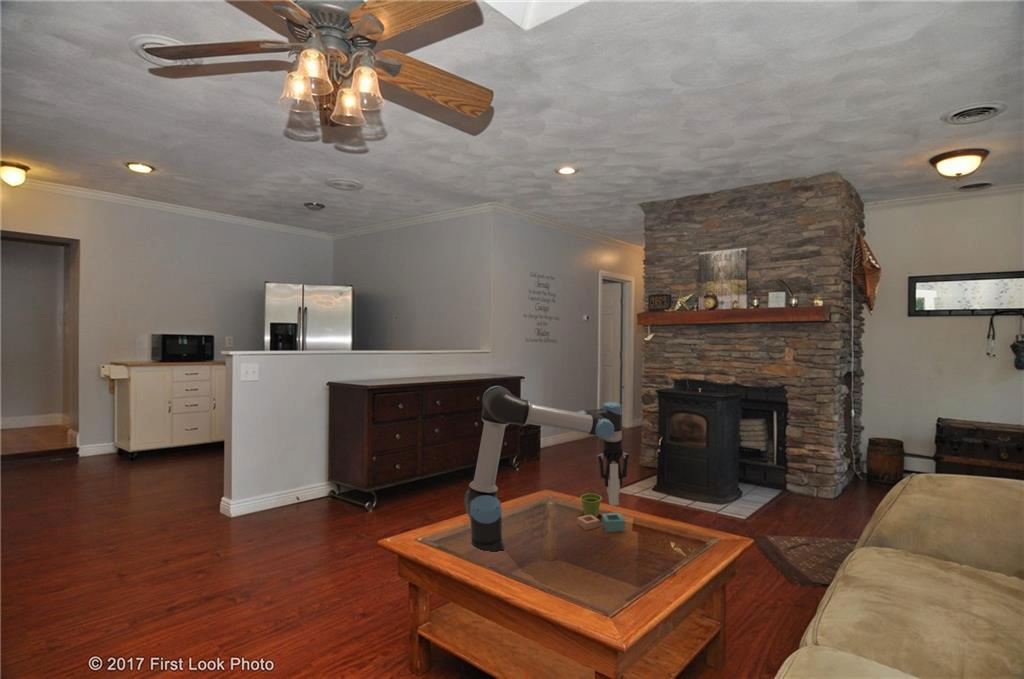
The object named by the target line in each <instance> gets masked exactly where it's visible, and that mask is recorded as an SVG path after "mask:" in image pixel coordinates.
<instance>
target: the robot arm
mask: <svg viewBox="0 0 1024 679" xmlns="http://www.w3.org/2000/svg"><path fill="white" fill-rule="evenodd" d="M482 395H483V396H482V399H481V402H482V412H481V415H480V416H481V418H480V419H481V420H482V422H483V426H482V427H483V428H482V434H481V438H480V445H479V450H478V456H477V461H476V468H475V471H474V477H473V480H472V481H471V482H469V485H468V490H467V491H466V493H465V495H464V500H463V501H464V502H463V504H464V508H465V510H466V512H467V515H468V518H469V521H470V533H471V534H470V535H471V537H470V538H471V541H470V545H471V544H472V545H473V546H474V547H476V548H478V549H480V550H483V551H490V552H498V551H504V550H505V549H506V547H505V544H504V542H503V529H502V526H503V524H502V521H503V520H502V511H503V510H502V504H501V501H500V500H499V499H498V497H497V494H498V489H499V488H498V486H497V485H496V480H497V474H498V468H499V463H500V457H501V451H502V448H503V440H504V435H505V431H506V427H508V425H510V424H512V425H520V426H526V425H527V424H529V425H535V426H540V427H546V428H550V429H557V430H563V431H568V432H575V433H579V434H585V435H590V436H596V437H598V438H599V439H601V440H603V451H602V453H600V454H599V453H598V454H597V455H596V458H597V459H598V466H599V468H598V469H599V477H600V478H601V479H603V480H604V486H605V487H606V493H607V495H608V496H609V495H610V479H609V471H610V464H611V462H612V461H615V462H616V463H617V464H618V495H621V487H622V485H623V479H624V478H626V477H627V473H628V472H627V471H628V459H629V458H630V455H629V454H628V453H627V452H624V451H623V441H622V438H623V436H622V434H623V432H622V431H623V430H622V423H623V422H622V415H623V413H622V411H623V410H622V405H621V404H620V403H619V402H614V401H610V402H604V403H603V404H602V408H596V409H583V410H577V411H571V410H567V409H560V408H555V407H551V406H550V407H549V406H545V405H539V404H536V403H530V401H529V400H528V399H523V398H520V397H517V396H516V395H515V394H512V392H510V390H509V389H507V388H506V387H503V386H501V385H495V386H491V387H489V388H488V389H487V390H485V391H484V393H483V394H482ZM604 457H605V459H606V464H605V467H604V461H603V459H604ZM621 457H622V468H621V463H620V462H621V461H620V459H621ZM604 468H605V469H604Z"/></svg>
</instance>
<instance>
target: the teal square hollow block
mask: <svg viewBox="0 0 1024 679" xmlns="http://www.w3.org/2000/svg"><path fill="white" fill-rule="evenodd" d="M625 522H626V521H625V518H624V517H623V515H622V514H621V513H620V512H609V513H607V512H606V513H601V525H602V527H603V529H604V532H605V533H614V532H615V533H616V532H625V531H626V530H625V529H626V523H625Z"/></svg>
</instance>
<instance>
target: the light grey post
mask: <svg viewBox="0 0 1024 679" xmlns="http://www.w3.org/2000/svg"><path fill="white" fill-rule="evenodd" d="M609 479H610V495H608V503H609V505H610V506H618V505H619V504H620V503H619V501H620V500H619V494H618V464H617V463H616V462H615V461H612V462H611V464H610V471H609Z"/></svg>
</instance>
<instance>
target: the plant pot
mask: <svg viewBox="0 0 1024 679" xmlns="http://www.w3.org/2000/svg"><path fill="white" fill-rule="evenodd" d="M579 498H580V500H581V503H582V509H583V510H582V511H583V514H584V515H583V516H585V515H590V514H592V515H593V516H594V517H596V518H598V517H599V511H600V505H601V501H602V499H603V498H602V496H601V495H599V494H596V493H585V494H582V495H581V496H580V497H579Z"/></svg>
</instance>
